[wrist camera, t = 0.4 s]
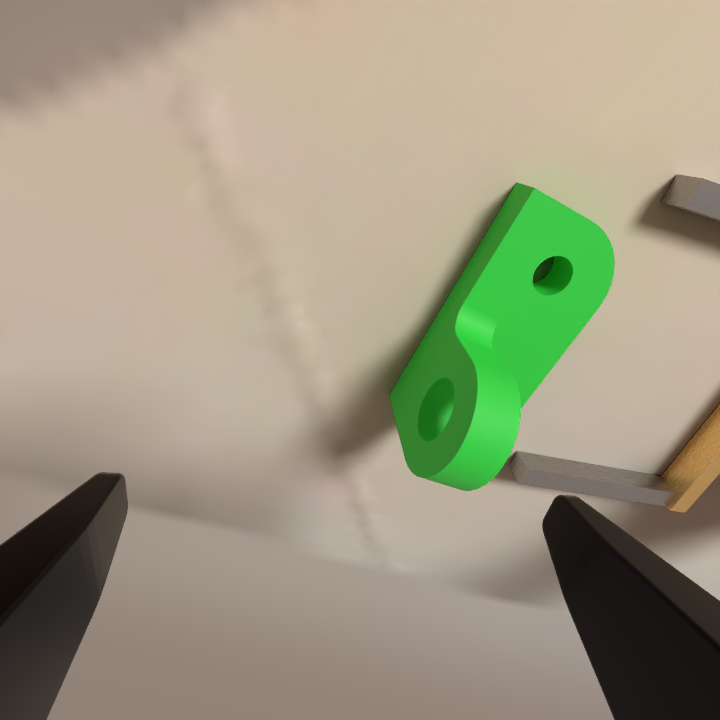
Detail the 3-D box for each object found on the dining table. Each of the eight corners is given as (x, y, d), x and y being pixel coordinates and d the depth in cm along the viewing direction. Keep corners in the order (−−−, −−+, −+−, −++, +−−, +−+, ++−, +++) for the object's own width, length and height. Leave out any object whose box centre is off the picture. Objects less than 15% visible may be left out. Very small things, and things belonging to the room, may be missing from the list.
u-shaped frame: (872, 243, 21) (915, 252, 20) (665, 491, 29) (685, 512, 28) (676, 174, 19) (709, 179, 17) (508, 465, 27) (520, 487, 25)
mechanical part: (478, 426, 25) (538, 542, 18) (388, 393, 24) (417, 507, 17) (615, 239, 20) (768, 301, 13) (514, 182, 19) (629, 217, 12)
